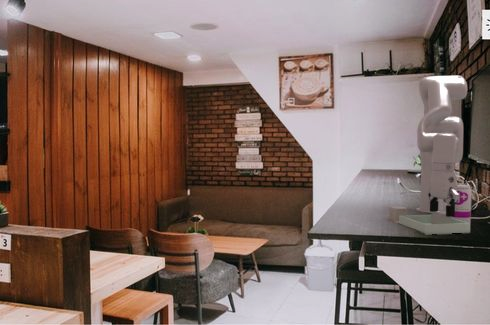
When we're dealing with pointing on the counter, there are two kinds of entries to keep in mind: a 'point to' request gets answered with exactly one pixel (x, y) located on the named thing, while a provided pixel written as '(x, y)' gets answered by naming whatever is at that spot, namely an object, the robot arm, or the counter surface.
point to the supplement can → (463, 203)
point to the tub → (433, 225)
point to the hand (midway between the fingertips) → (441, 213)
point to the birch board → (391, 220)
